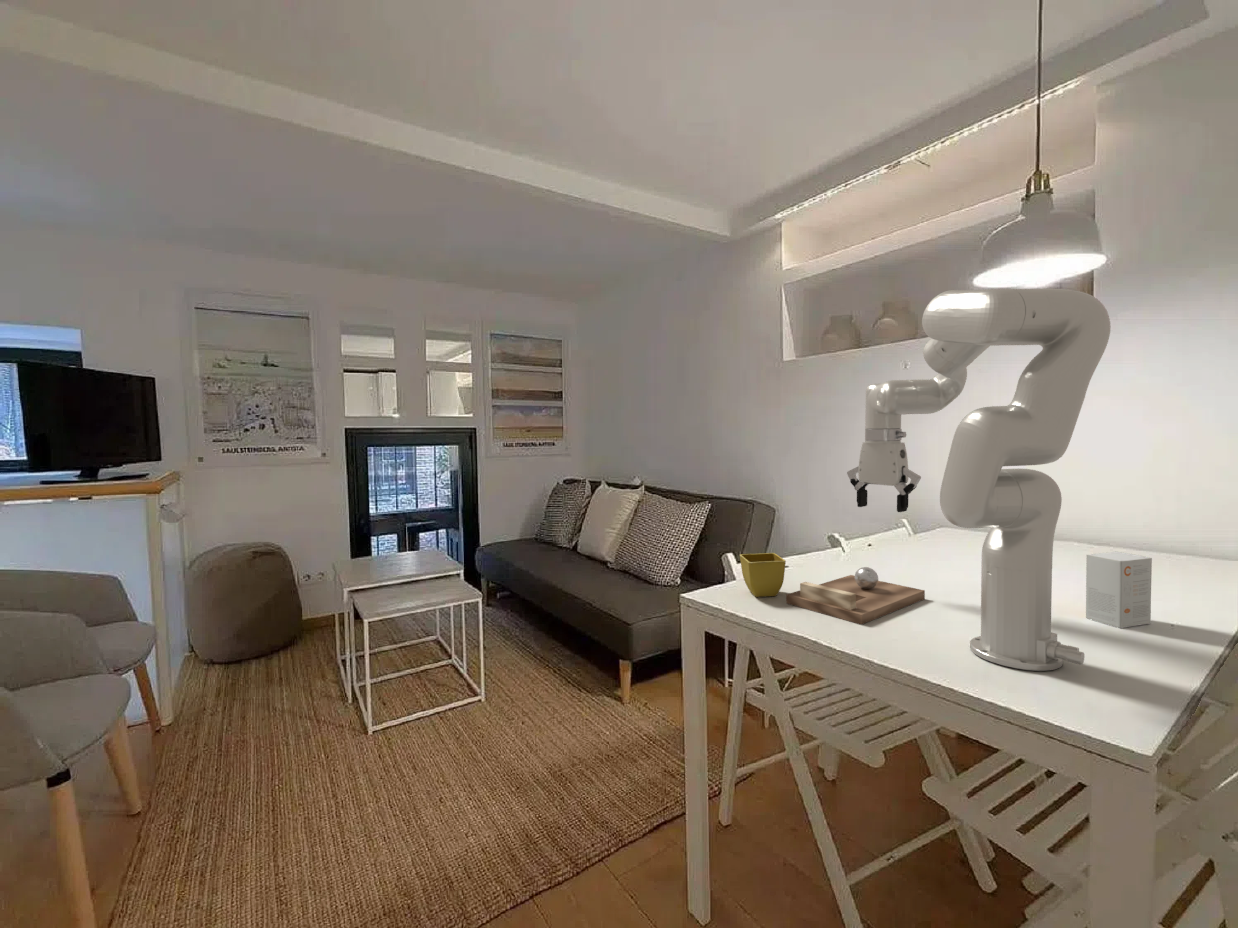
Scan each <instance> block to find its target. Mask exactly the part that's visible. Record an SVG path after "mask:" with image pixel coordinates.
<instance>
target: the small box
mask: <svg viewBox="0 0 1238 928" xmlns="http://www.w3.org/2000/svg"><path fill="white" fill-rule="evenodd" d="M1152 561H1153V558H1152V557H1149V556H1143V555H1139V554H1132V553H1127V552H1122V551H1109V552H1108V551H1107V552H1100V553H1099V552H1098V553H1090V554H1086V567H1085V568H1086V569H1085V570H1086V571H1085V573H1086V575H1085V577H1086V578H1085V579H1086V580H1085V581H1086V583H1085V584H1086V585H1085V587H1086V588H1085V589H1086V590H1085V618H1086V620H1087V619H1088V620H1090V619H1092V620H1091V621H1093V620H1094V622H1097V621H1098V623H1100V622H1101V624H1104V625H1107V624H1109V625H1108V626H1110V625H1112V626H1111V627H1114V626H1115V627H1114V628H1117V627H1118V629H1125V628H1131V627H1137V626H1143V625H1150V624H1152V622H1151V620H1152V619H1151V618H1152V615H1151V613H1152V570H1153V569H1152V568H1153V567H1152V566H1153V565H1152V563H1153V562H1152Z"/></svg>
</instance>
